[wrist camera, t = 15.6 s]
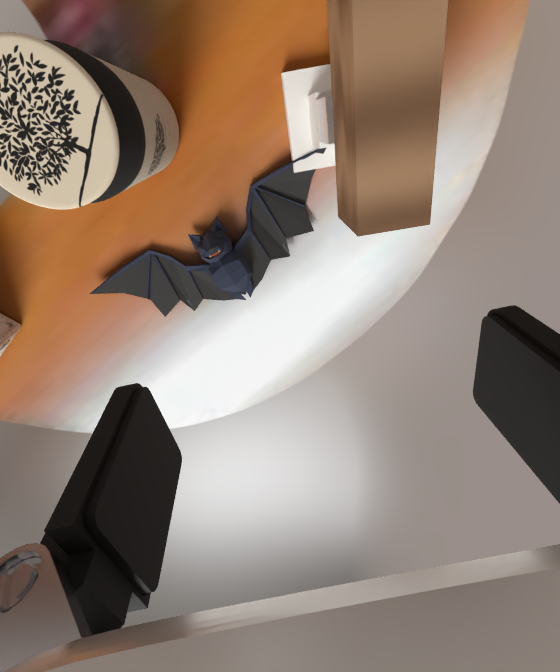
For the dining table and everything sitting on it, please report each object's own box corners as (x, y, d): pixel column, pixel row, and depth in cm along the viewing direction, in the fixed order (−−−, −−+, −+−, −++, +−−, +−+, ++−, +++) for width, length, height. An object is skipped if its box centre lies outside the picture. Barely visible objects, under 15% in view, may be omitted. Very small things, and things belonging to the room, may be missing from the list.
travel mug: (77, 141, 33) (-73, 155, 17) (108, 52, 30) (-40, -28, 14) (158, 191, 35) (90, 242, 20) (194, 114, 32) (148, 105, 17)
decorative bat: (139, 365, 41) (77, 295, 37) (150, 348, 45) (94, 283, 40) (372, 235, 35) (329, 136, 31) (362, 228, 39) (322, 139, 35)
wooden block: (326, -12, 22) (350, -54, 17) (405, -26, 22) (454, -72, 17) (338, 216, 29) (357, 236, 24) (397, 207, 29) (429, 224, 24)
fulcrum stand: (281, 74, 31) (292, 57, 23) (391, 54, 31) (440, 30, 23) (293, 171, 35) (306, 184, 28) (390, 153, 35) (431, 161, 28)
